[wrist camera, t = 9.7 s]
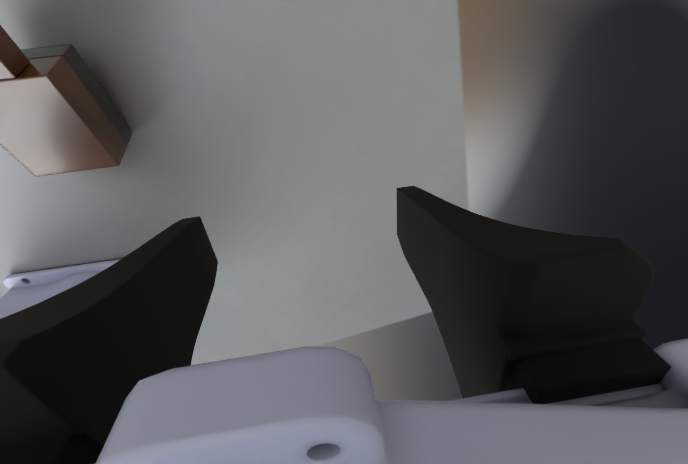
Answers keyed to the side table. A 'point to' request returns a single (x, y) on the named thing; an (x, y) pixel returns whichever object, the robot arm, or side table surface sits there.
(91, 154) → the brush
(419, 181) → the side table surface
